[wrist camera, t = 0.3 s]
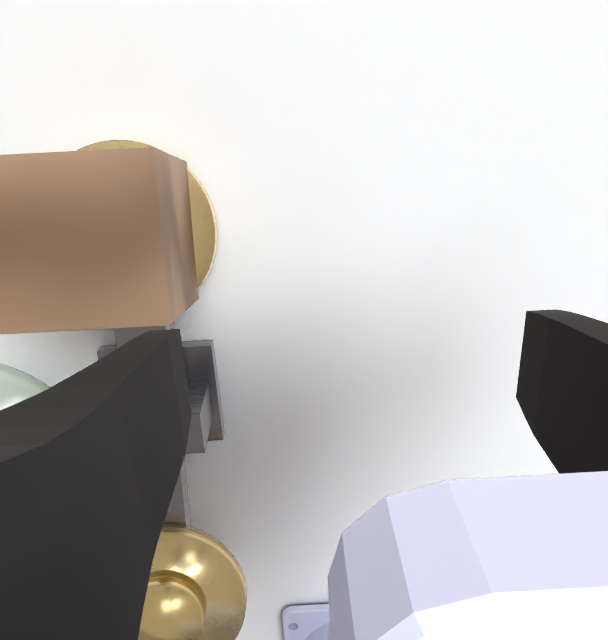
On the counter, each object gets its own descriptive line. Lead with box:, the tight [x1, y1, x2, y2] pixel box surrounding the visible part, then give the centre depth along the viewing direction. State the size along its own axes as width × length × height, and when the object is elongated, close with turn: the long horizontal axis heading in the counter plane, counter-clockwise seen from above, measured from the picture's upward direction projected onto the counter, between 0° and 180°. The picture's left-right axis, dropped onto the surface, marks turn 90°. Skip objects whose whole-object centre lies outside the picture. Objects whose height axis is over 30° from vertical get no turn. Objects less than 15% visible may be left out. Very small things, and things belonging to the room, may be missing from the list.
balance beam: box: [77, 140, 247, 640], centre depth 20 cm, size 20×6×3 cm, turn 2°
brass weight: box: [138, 570, 206, 640], centre depth 21 cm, size 3×3×1 cm
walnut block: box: [0, 147, 198, 334], centre depth 17 cm, size 4×4×4 cm
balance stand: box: [97, 340, 224, 454], centre depth 22 cm, size 4×4×3 cm
